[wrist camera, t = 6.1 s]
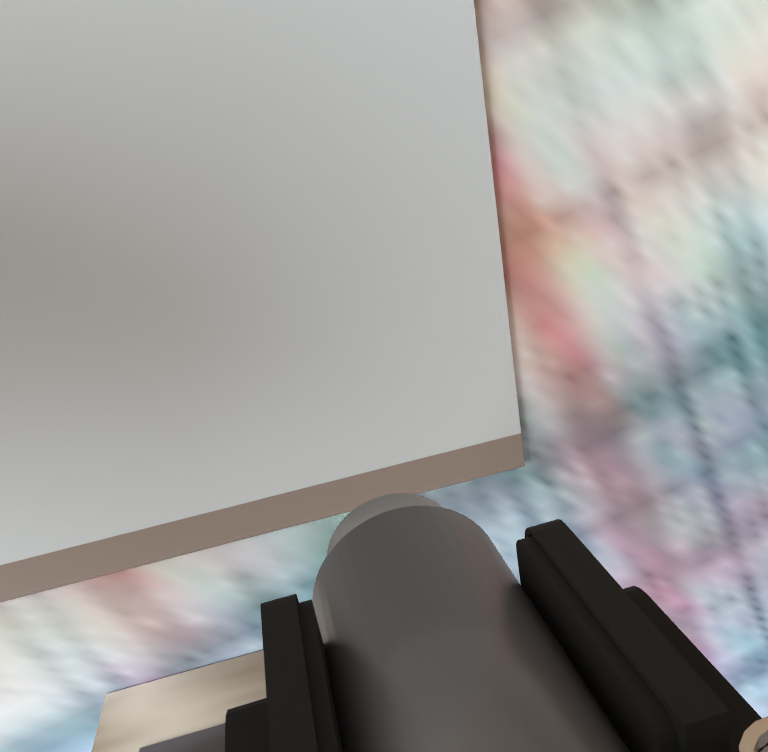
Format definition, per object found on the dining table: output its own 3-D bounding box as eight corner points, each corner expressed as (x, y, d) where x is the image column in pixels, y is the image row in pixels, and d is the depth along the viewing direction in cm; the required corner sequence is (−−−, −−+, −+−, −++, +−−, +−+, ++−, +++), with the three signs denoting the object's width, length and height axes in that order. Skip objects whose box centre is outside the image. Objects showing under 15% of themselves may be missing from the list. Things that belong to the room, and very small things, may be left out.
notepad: (457, -107, 17) (461, -111, 16) (521, 461, 22) (524, 465, 22) (-454, 29, 14) (-470, 26, 14) (-117, 626, 20) (-122, 634, 20)
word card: (398, 610, 23) (446, 758, 18) (402, 629, 24) (450, 780, 18) (105, 692, 22) (59, 878, 17) (113, 712, 22) (71, 900, 17)
